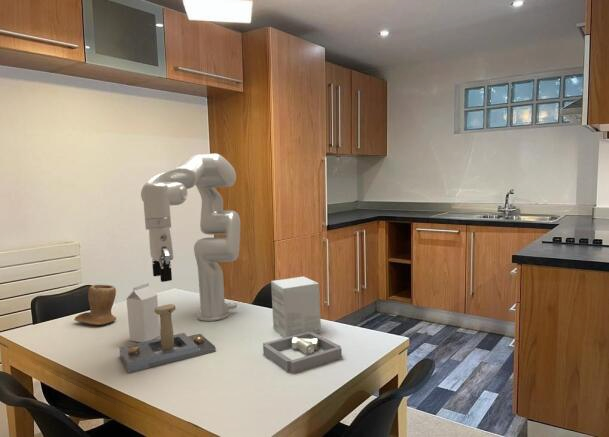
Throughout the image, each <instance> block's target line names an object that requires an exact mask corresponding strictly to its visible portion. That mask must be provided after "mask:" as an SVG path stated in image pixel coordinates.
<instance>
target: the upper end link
mask: <svg viewBox="0 0 609 437" xmlns="http://www.w3.org/2000/svg"><path fill="white" fill-rule="evenodd" d="M173 335H174V342H177V341H180V342H181V343H182V344H183V346H184V347H181V346H179V347H176V348H173V349H172V350H167V351H163V352H162V351H160V352H156V353H155V351H153V350H152V349H151V347H155V346H160V345H161V338H160V337H158V338H155V339H153V340H150V341H145V342H137V343H132V344H128V345H123V346H119V348H118V349H119V357H120V359H121V361H122V364H123V365H124V367H125V369H126V371H127V373H128V374H131V373H136V372H139V371H143V370H146V369H150V368H149V366H148V363H151V362H155V361H160V360H164V359H168V358H172V357H176V356H180V355H184V354H188V353H192V352H196V351H198V346H197V345H196V344H195V343H194V342H193V341H192V340H191V339H190V338H189V337H188V336H189V335H187V334H186V333H185V332H182V333H178V334H173Z"/></svg>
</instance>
